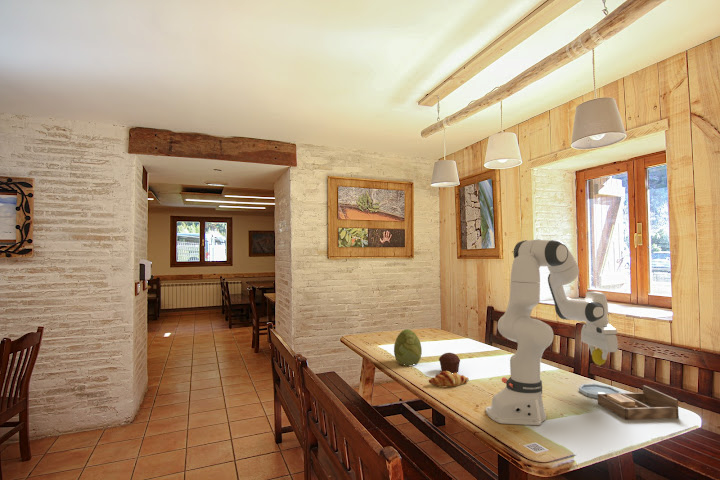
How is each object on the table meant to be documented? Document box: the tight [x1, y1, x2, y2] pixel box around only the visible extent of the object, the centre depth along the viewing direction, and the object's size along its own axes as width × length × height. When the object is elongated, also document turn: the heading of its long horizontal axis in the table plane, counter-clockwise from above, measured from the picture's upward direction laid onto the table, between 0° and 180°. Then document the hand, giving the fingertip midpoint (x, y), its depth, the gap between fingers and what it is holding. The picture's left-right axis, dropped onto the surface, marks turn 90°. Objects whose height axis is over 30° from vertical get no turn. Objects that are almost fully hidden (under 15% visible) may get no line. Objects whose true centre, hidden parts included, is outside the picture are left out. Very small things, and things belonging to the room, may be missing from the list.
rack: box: [597, 385, 680, 421], centre depth 153 cm, size 21×16×7 cm
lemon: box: [591, 347, 607, 367], centre depth 173 cm, size 6×6×8 cm
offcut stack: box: [607, 394, 638, 408], centre depth 153 cm, size 6×9×5 cm
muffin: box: [438, 352, 461, 373], centre depth 207 cm, size 12×11×10 cm
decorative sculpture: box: [393, 328, 423, 366], centre depth 224 cm, size 16×16×20 cm
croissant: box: [428, 371, 470, 387], centre depth 187 cm, size 21×10×8 cm, turn 103°
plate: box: [578, 383, 622, 400], centre depth 172 cm, size 16×16×2 cm
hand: (598, 357), depth 173 cm, fingers closed on lemon, 6 cm apart
